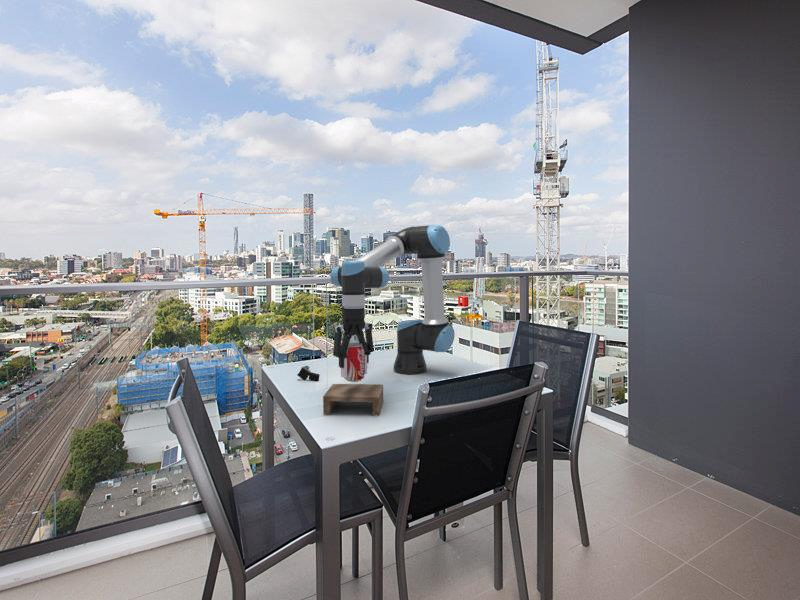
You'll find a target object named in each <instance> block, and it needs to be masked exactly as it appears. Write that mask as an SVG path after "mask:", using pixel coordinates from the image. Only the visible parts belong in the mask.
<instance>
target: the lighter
mask: <svg viewBox="0 0 800 600" xmlns="http://www.w3.org/2000/svg"><path fill="white" fill-rule="evenodd" d="M296 376H297V377H299V378H300V379H301V380H303V381H307V379H308V380H310V381H311V382H318V381H319V380H320V376H321V375H320V374H319V373H315V372H312V371H311V370H310V366H309V365H304V366H302V367H301V368H300V369H299V372H298V373H297V374H296Z"/></svg>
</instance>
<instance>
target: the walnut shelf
mask: <svg viewBox="0 0 800 600" xmlns="http://www.w3.org/2000/svg"><path fill="white" fill-rule="evenodd" d="M338 402H355V403H356V402H359V403H361V402H362V403H363V402H365V403H368V402H370V403H372V416H374V415H375V416H376V415H377V416H380V414H381V409H382V406H383V403H384V384H379V383H378V384H374V383H367V384H366V383H365V384H363V383H362V384H360V383H357V384H356V383H332V384H331V386H330V387H329V388H328V390H327V391H326V392H325V393H324V394H323V396H322V405H323V407H322V408H323V411H322V412H323V415H324V416H325V415H326V416H328V415H329V416H330V415H331V414H332V411H333V410H334V409H335V407H336V405H337V404H338ZM377 416H376V417H377Z"/></svg>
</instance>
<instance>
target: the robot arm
mask: <svg viewBox="0 0 800 600" xmlns="http://www.w3.org/2000/svg"><path fill="white" fill-rule="evenodd" d="M449 235H450V234H449V233H448V231H447V230H446V228H445V227H444V226H443V225H440V224H430V225H418V226H416V225H415V226H408V227H406V228H403V229H400V230H398V231H397V232H395V233H393V234H392V235H390V236H388V237H387V238H386V239H385V242H382V243H381V244H380V245H378V246H376V247H375V248H373V249H371V250H369V251H368V252H366V253H365V254H364V255H362V256H359V257H358V258H356V259H355V260H344V261H343V262H341V265H340V266H336V267H334V268H332V270H331V272H330V281H331V283H332V284H333V286H336V287H338V288H339V287H340V288H341V306H342V309H341V319H342V323H341V324H340V325H338V326H337V325H335V326H334V327H333V332H334V341H333V351H332V355H333V356H334V357H336V358H338V367H339V368H340V377H341V378H347V358H345V354H346V351H347V348H348V345H349V341H350V339H351V338H352V336H354V335H356V336H357V338H358V340H359V343H361V344H362V346H363V348H364V357H365V374H364V375H367V374H368V364H369V363H370V362H369V361H370V360H369V359H370V358H369V357H370V355H371V354H372V353H374V351H375V350H374V349H375V347H374V341H373V331H372V330H373V324H372V323H370V322H369V323H368V322H365V318H366V309H365V306H366V302H365V301H366V297H365V294H366V293H365V290H366V289H380V288H384V287H386V286H387V285H388V283H389V281H390V274H389V272H388V270H387V269H386V268H385V267H384V265H386V264H388V263H389V262H391V261H392V260H393V259H395V258H396V259H398V258H400V257H403V256H406V255H416V259H417V260H418V261H419V262H420V264H421V279H422V295H423V297H422V298H423V310H424V312H423V313H424V318H423V319H420V318H419V319H409V320H402V321H399V322H398V323H397V327H396V328H397V330H396V341H397V342H396V345H397V354H396V357H395V360H394V363H393V372H395V373H398V374H401V375H402V374H404V375H418V374H424V373H426V372H427V369H428V368H427V367H428V365H427V363H426V360H425V356H424V351H430V352H435V353H446V352H448V351H449V350H450V349H451V348H452V346H453V343H454V340H455V336H456V335H455V329H454V327H453V326H452V325H450V324H449V319H448V318H447V317H446V316H445V299H444V282H443V281H444V280H443V260H444V258H446V253H448V252H449V250H450V246H451V240H450V236H449ZM363 330H364V331H363ZM343 332H344V335H343ZM342 337H343V338H342Z"/></svg>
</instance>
